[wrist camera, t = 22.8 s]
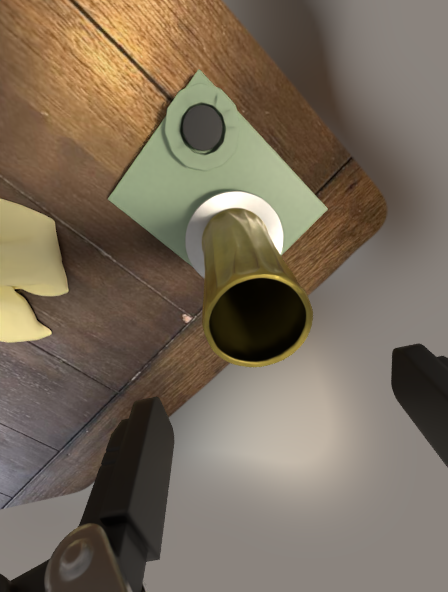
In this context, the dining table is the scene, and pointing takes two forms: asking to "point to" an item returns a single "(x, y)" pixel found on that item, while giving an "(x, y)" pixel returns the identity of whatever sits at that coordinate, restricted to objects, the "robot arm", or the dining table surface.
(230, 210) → the vase
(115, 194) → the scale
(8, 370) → the dining table surface
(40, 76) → the dining table surface
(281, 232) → the weighing plate
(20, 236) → the cloth
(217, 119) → the button
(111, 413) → the dining table surface
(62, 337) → the dining table surface
